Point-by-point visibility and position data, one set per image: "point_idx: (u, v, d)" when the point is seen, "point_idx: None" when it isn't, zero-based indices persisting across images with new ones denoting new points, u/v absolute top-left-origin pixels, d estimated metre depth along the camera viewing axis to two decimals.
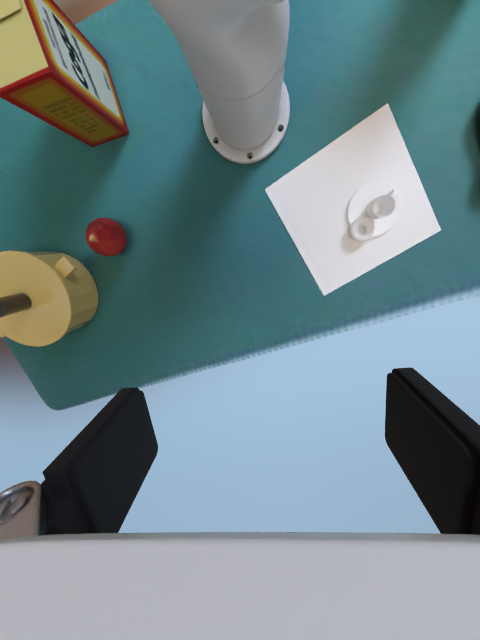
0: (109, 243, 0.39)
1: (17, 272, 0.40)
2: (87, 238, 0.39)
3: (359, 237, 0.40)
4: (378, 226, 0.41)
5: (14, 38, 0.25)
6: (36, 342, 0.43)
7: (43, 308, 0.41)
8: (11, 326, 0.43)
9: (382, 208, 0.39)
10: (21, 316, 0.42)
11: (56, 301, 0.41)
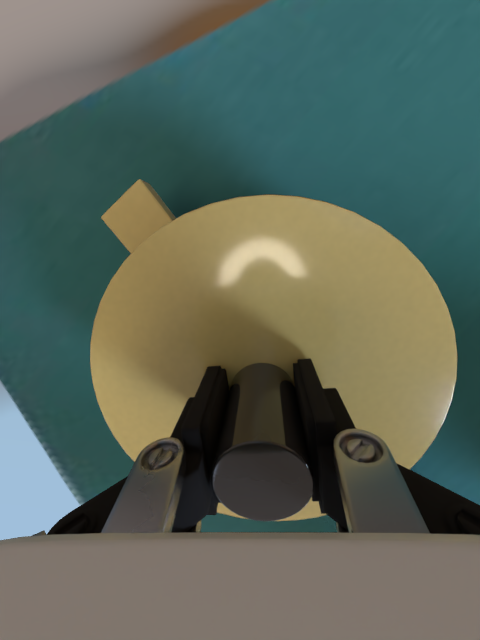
0: None
1: (370, 400, 0.11)
2: None
3: None
4: None
5: None
6: (109, 391, 0.12)
7: None
8: (158, 315, 0.11)
9: None
10: (203, 367, 0.11)
11: None
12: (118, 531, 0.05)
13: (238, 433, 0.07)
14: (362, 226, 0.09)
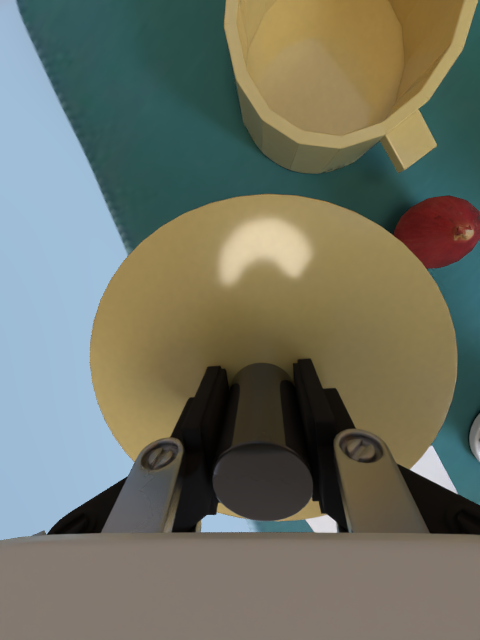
0: (435, 255, 0.20)
1: (370, 400, 0.11)
2: (459, 213, 0.19)
3: None
4: None
5: None
6: (109, 391, 0.12)
7: None
8: (158, 315, 0.11)
9: None
10: (203, 367, 0.11)
11: None
12: (118, 531, 0.05)
13: (238, 433, 0.07)
14: (362, 226, 0.09)
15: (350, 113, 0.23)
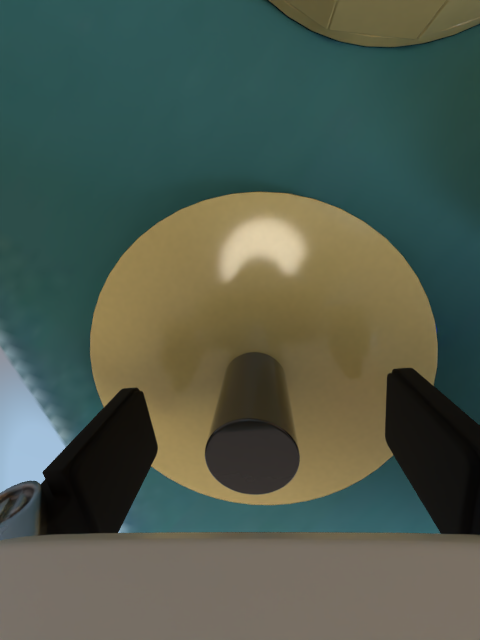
0: None
1: (357, 387, 0.12)
2: None
3: None
4: None
5: None
6: (108, 381, 0.12)
7: None
8: (155, 307, 0.11)
9: None
10: (198, 356, 0.12)
11: None
12: None
13: (229, 413, 0.08)
14: (347, 221, 0.10)
15: None
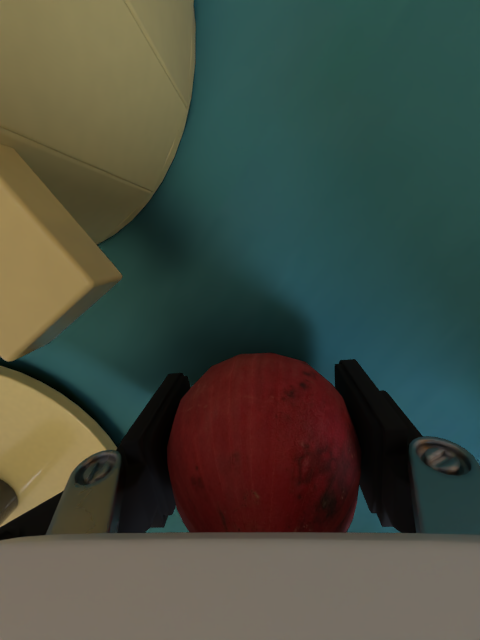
0: None
1: None
2: (252, 493, 0.05)
3: None
4: None
5: None
6: None
7: None
8: None
9: None
10: None
11: None
12: None
13: None
14: (18, 388, 0.12)
15: None
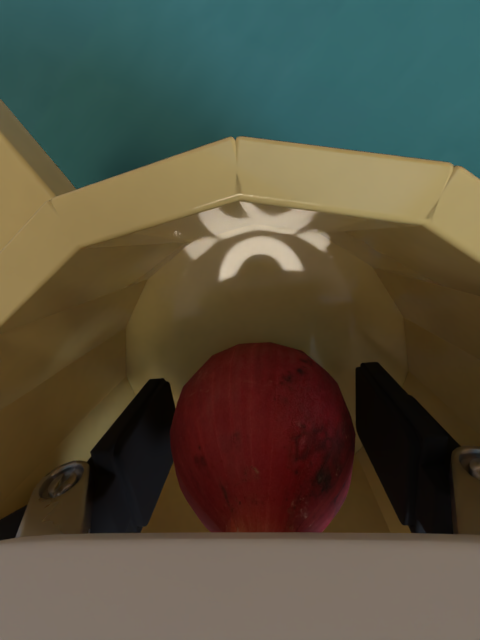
0: None
1: None
2: (252, 469, 0.06)
3: None
4: None
5: None
6: None
7: None
8: None
9: None
10: None
11: None
12: None
13: None
14: None
15: None
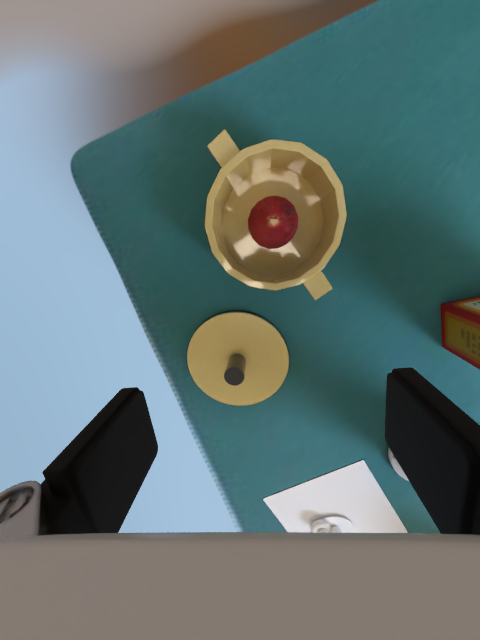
0: (264, 237, 0.29)
1: (267, 364, 0.39)
2: (272, 207, 0.27)
3: (314, 529, 0.47)
4: None
5: None
6: (192, 362, 0.40)
7: None
8: (208, 340, 0.39)
9: None
10: (220, 354, 0.39)
11: (237, 393, 0.41)
12: None
13: (229, 366, 0.35)
14: (259, 320, 0.37)
15: (291, 246, 0.34)
